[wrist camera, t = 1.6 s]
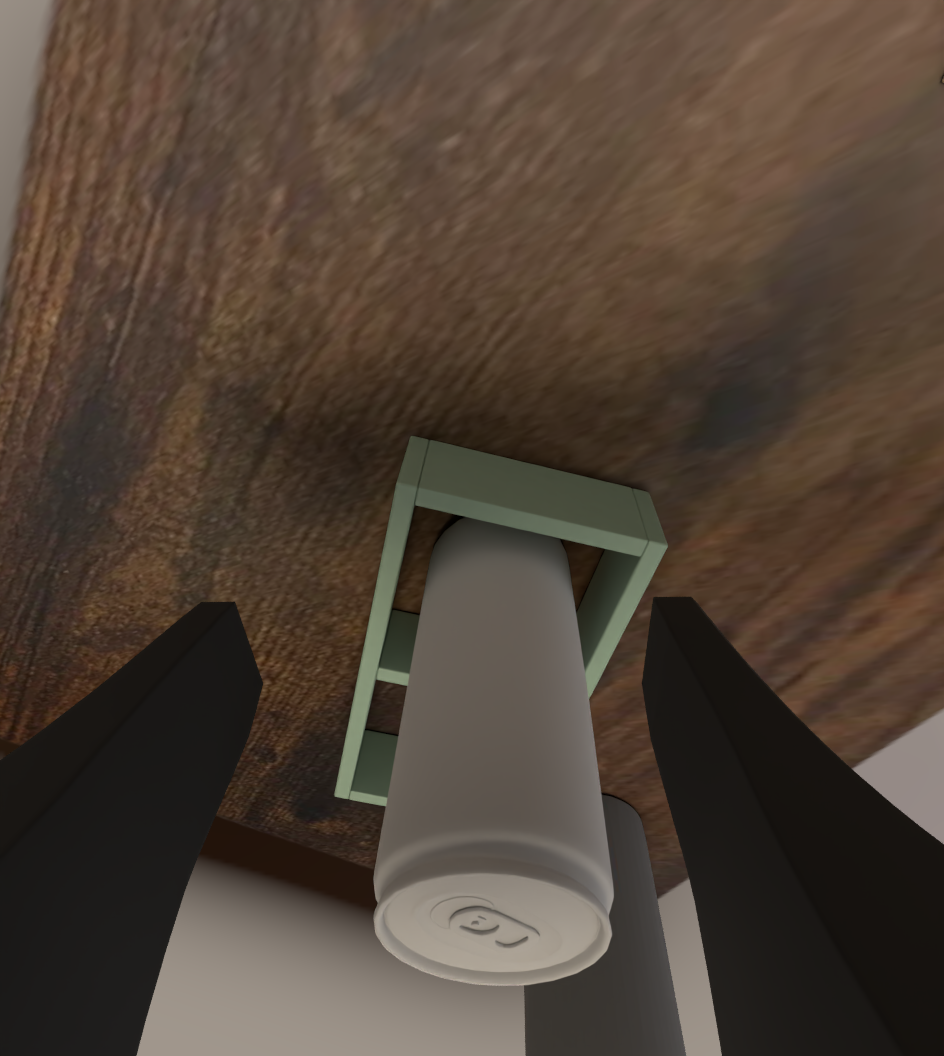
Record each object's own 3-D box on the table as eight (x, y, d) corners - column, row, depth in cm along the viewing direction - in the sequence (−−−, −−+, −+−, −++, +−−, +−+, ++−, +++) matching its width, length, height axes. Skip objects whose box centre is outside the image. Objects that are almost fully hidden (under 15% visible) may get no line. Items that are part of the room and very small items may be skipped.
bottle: (668, 826, 30) (778, 1326, 18) (580, 871, 33) (623, 1334, 21) (583, 774, 28) (640, 1293, 16) (496, 826, 31) (488, 1307, 19)
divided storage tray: (649, 491, 20) (669, 545, 18) (520, 768, 28) (521, 832, 26) (410, 434, 19) (396, 482, 17) (349, 735, 28) (333, 797, 25)
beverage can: (492, 473, 20) (473, 835, 10) (599, 554, 22) (674, 937, 12) (404, 564, 22) (317, 934, 12) (507, 631, 24) (504, 1008, 14)
